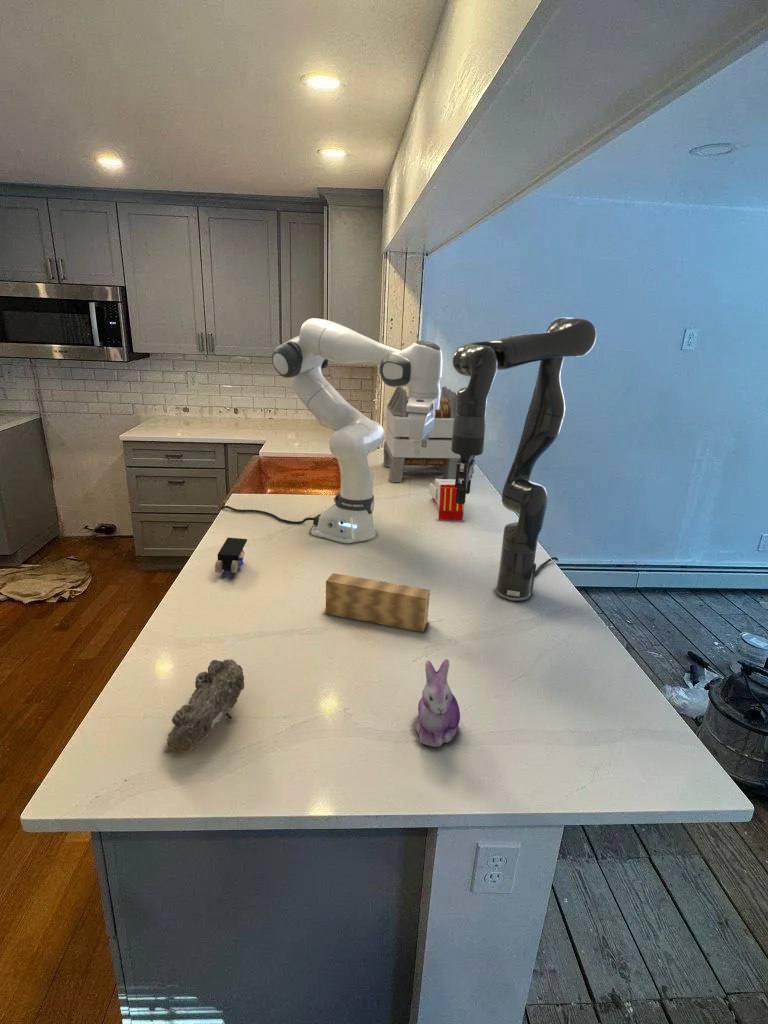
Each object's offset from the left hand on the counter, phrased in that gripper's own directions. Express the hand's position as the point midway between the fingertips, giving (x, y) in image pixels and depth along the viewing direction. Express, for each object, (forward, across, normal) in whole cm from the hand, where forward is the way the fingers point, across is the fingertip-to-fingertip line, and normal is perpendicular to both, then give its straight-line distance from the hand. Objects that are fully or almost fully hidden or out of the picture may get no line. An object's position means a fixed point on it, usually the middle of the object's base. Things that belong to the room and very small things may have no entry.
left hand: (420, 450), depth 163 cm
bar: (+37, +34, -3) cm, 50 cm away
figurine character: (+36, +21, -50) cm, 66 cm away
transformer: (+36, -104, -19) cm, 112 cm away
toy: (+36, -57, +1) cm, 68 cm away
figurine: (+37, +70, +20) cm, 82 cm away
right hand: (+5, +24, +16) cm, 29 cm away
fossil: (+37, +79, -22) cm, 90 cm away
